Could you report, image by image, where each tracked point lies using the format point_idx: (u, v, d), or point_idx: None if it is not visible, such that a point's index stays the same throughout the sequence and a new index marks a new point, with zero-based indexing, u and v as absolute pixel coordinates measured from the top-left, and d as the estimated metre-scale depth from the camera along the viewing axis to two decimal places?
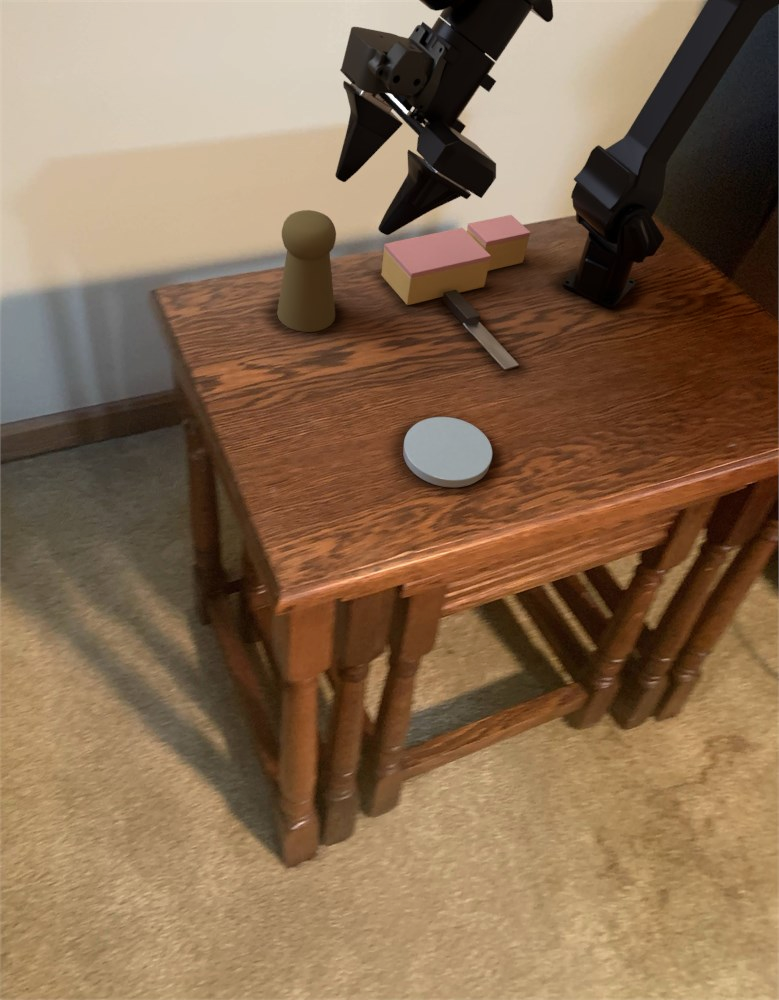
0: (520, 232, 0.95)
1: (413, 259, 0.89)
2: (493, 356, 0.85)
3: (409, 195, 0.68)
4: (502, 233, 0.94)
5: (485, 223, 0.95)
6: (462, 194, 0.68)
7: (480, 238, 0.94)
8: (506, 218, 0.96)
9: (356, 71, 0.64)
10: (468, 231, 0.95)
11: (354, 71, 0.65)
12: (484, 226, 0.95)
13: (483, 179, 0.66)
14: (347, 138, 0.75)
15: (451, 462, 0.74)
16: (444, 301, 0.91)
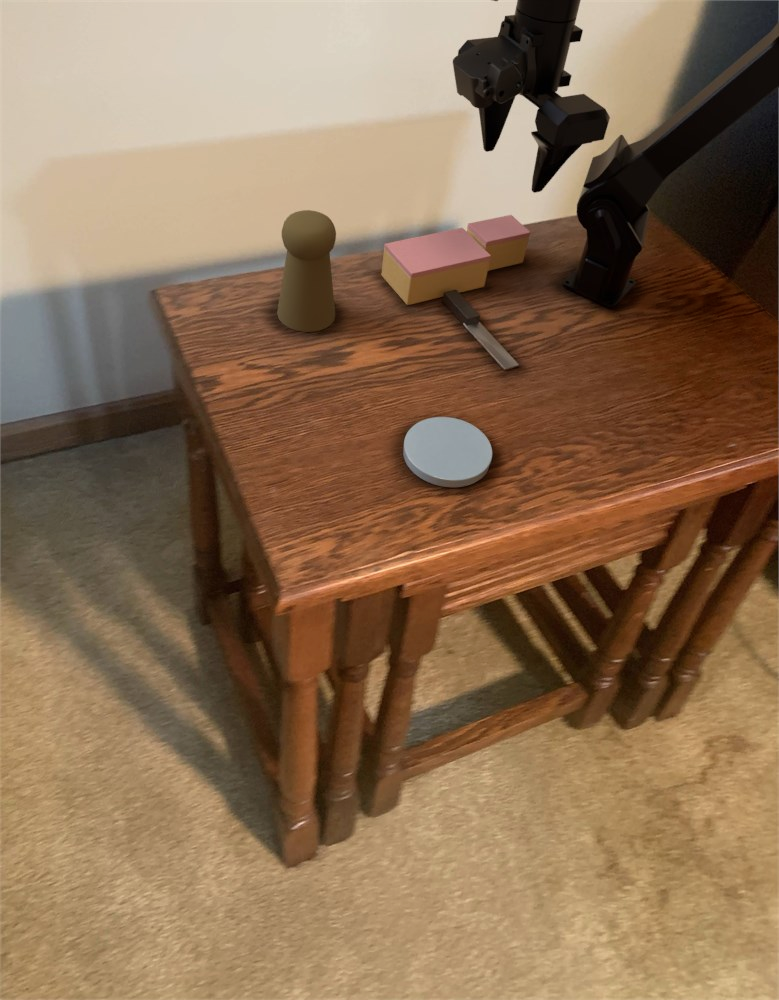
0: (520, 232, 0.95)
1: (413, 259, 0.89)
2: (493, 356, 0.85)
3: (545, 161, 0.83)
4: (502, 233, 0.94)
5: (485, 223, 0.95)
6: (587, 141, 0.81)
7: (480, 238, 0.94)
8: (506, 218, 0.96)
9: (469, 95, 0.80)
10: (468, 231, 0.95)
11: (467, 95, 0.80)
12: (484, 226, 0.95)
13: (599, 127, 0.79)
14: (482, 119, 0.90)
15: (451, 462, 0.74)
16: (444, 301, 0.91)
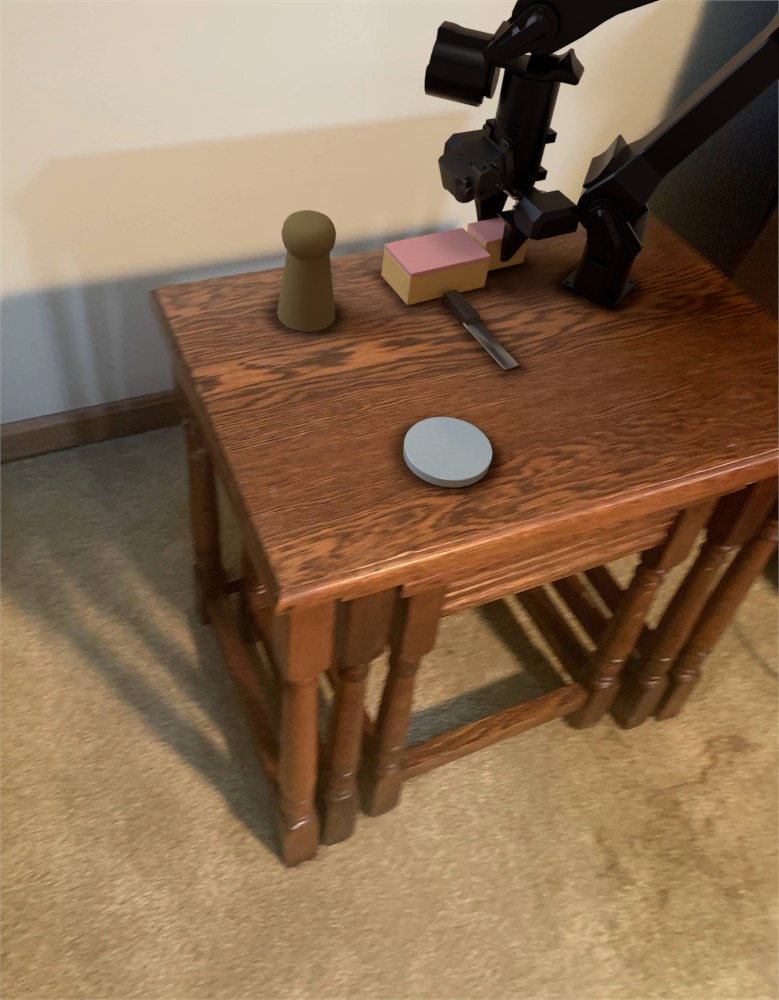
0: None
1: (413, 259, 0.89)
2: (493, 356, 0.85)
3: (511, 236, 0.92)
4: (502, 233, 0.94)
5: (485, 223, 0.95)
6: None
7: (480, 238, 0.94)
8: None
9: (453, 191, 0.87)
10: (468, 231, 0.95)
11: (451, 191, 0.87)
12: (484, 226, 0.95)
13: (571, 222, 0.86)
14: (478, 214, 0.96)
15: (451, 462, 0.74)
16: (444, 301, 0.91)
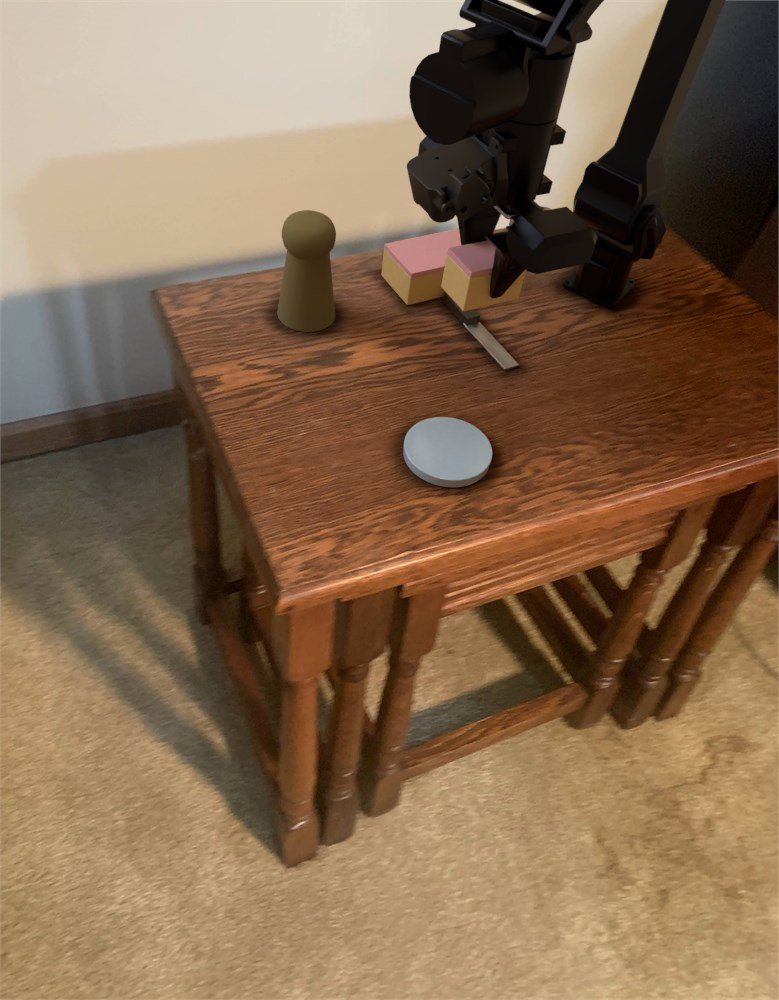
0: None
1: (413, 259, 0.89)
2: (493, 356, 0.85)
3: (504, 266, 0.70)
4: (492, 261, 0.72)
5: (470, 248, 0.74)
6: None
7: (463, 267, 0.72)
8: None
9: (426, 207, 0.65)
10: (448, 258, 0.74)
11: (424, 206, 0.66)
12: (469, 252, 0.73)
13: (584, 250, 0.64)
14: (462, 236, 0.74)
15: (451, 462, 0.74)
16: (444, 301, 0.91)
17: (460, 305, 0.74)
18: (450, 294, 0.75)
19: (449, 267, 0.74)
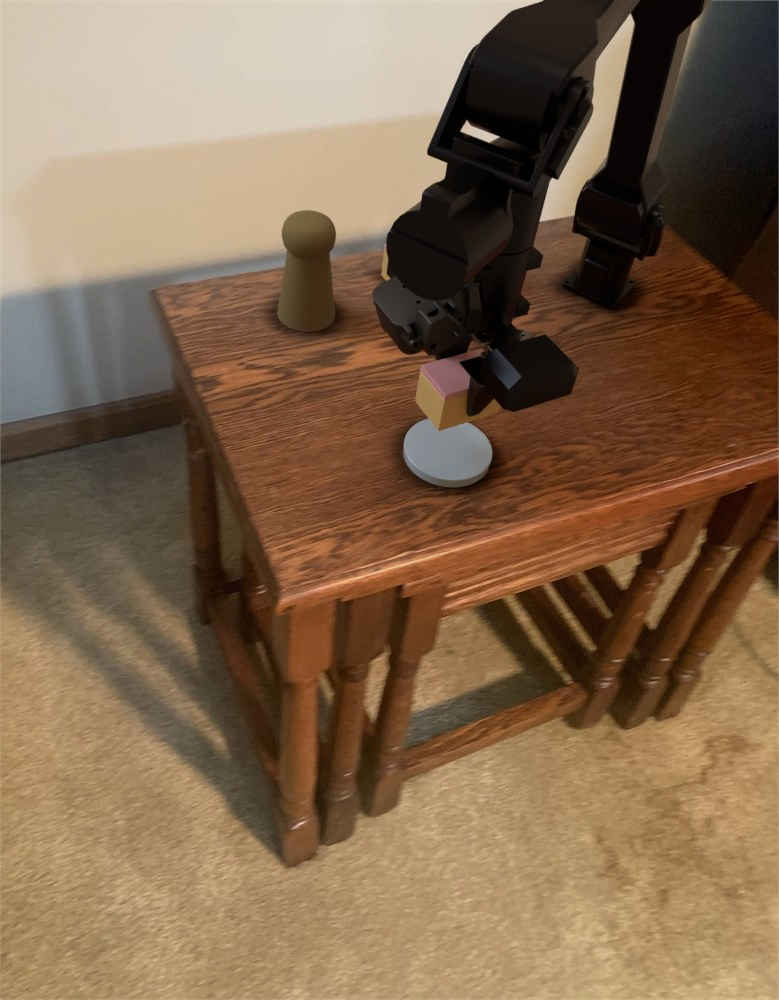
0: None
1: None
2: None
3: (480, 390, 0.65)
4: (468, 380, 0.68)
5: (445, 364, 0.69)
6: None
7: (437, 388, 0.67)
8: (475, 354, 0.70)
9: (394, 338, 0.61)
10: (421, 375, 0.69)
11: (392, 336, 0.61)
12: (444, 369, 0.68)
13: (564, 383, 0.60)
14: None
15: (451, 462, 0.74)
16: None
17: (435, 424, 0.69)
18: (424, 411, 0.70)
19: (423, 384, 0.69)
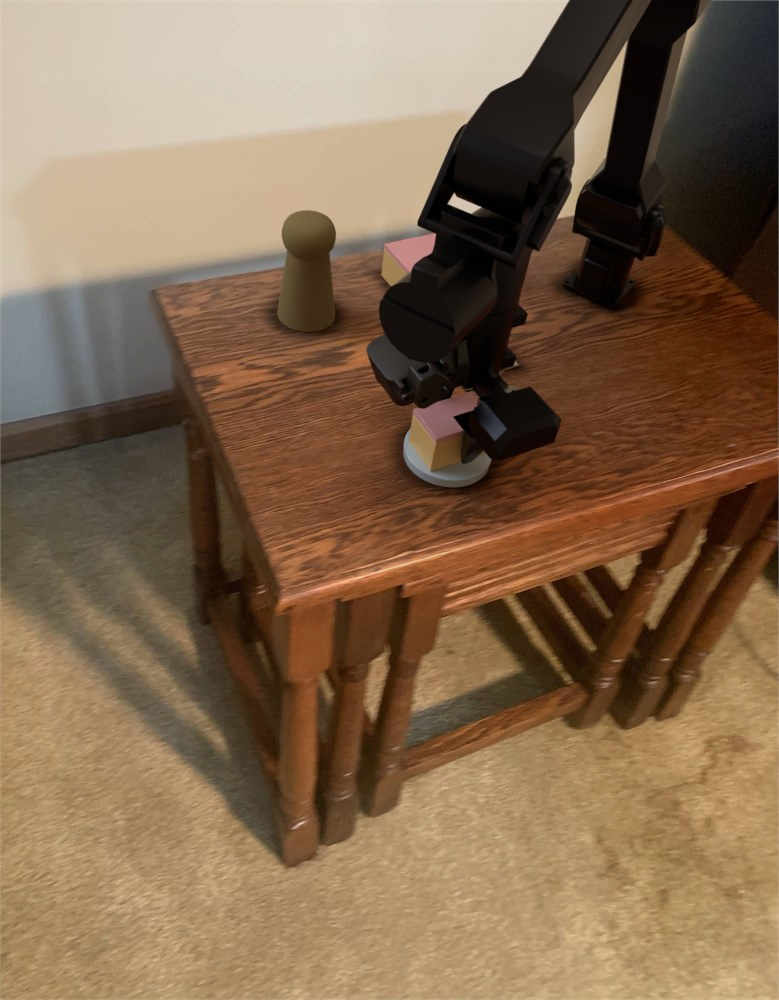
0: None
1: (413, 259, 0.89)
2: None
3: (473, 442, 0.69)
4: None
5: (436, 407, 0.72)
6: None
7: (429, 432, 0.71)
8: (465, 398, 0.73)
9: (387, 390, 0.64)
10: (414, 418, 0.72)
11: (385, 389, 0.64)
12: (435, 413, 0.72)
13: (547, 434, 0.63)
14: None
15: None
16: None
17: (427, 465, 0.73)
18: (417, 451, 0.74)
19: (415, 426, 0.73)
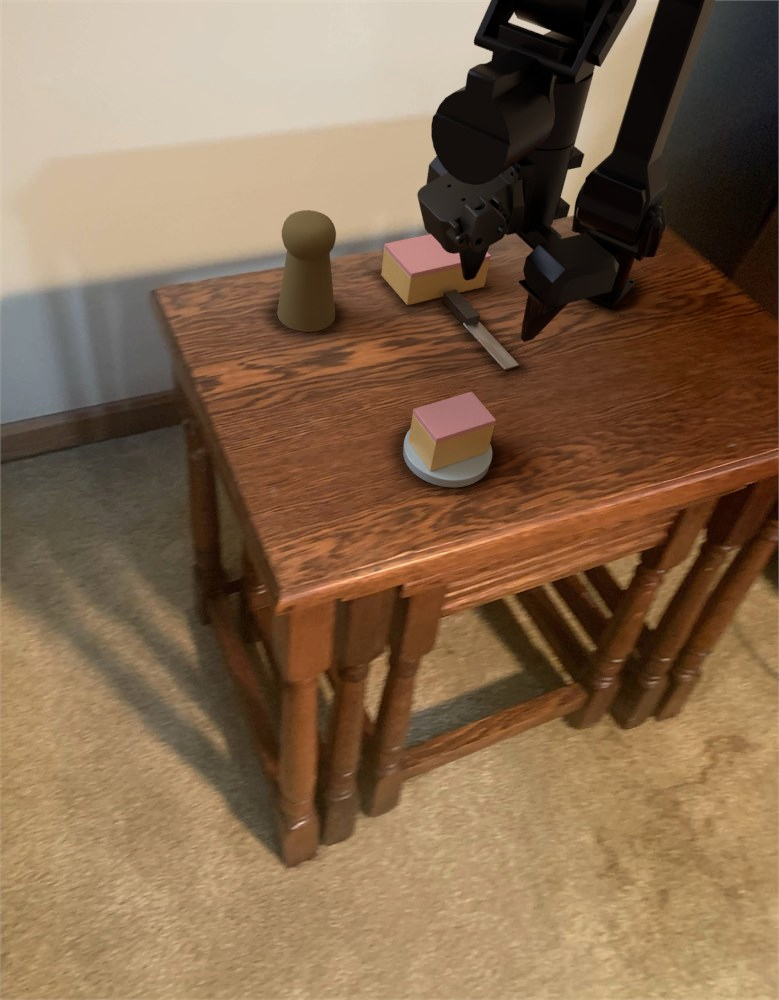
0: (482, 421, 0.72)
1: (413, 259, 0.89)
2: (493, 356, 0.85)
3: (538, 311, 0.66)
4: (458, 423, 0.71)
5: (436, 407, 0.72)
6: None
7: (429, 432, 0.71)
8: (465, 398, 0.73)
9: (439, 237, 0.62)
10: (414, 418, 0.72)
11: (437, 236, 0.63)
12: (435, 413, 0.72)
13: (605, 279, 0.61)
14: None
15: None
16: (444, 301, 0.91)
17: (427, 465, 0.73)
18: (417, 451, 0.74)
19: (415, 426, 0.73)
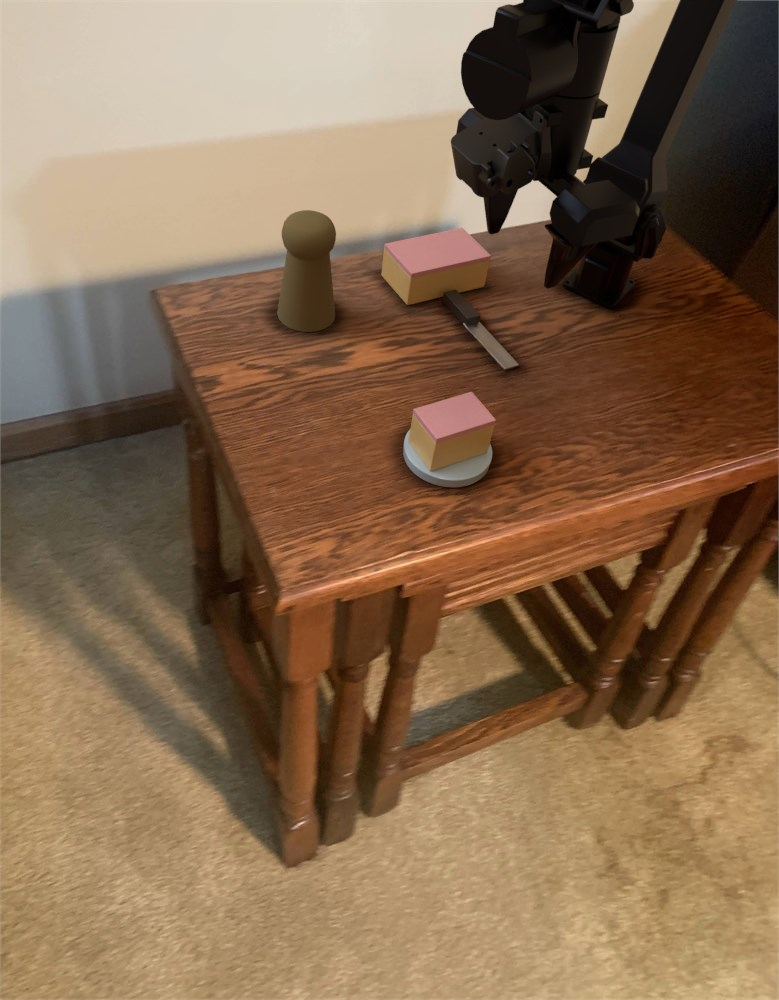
0: (482, 421, 0.72)
1: (413, 259, 0.89)
2: (493, 356, 0.85)
3: (561, 256, 0.70)
4: (458, 423, 0.71)
5: (436, 407, 0.72)
6: None
7: (429, 432, 0.71)
8: (465, 398, 0.73)
9: (470, 182, 0.66)
10: (414, 418, 0.72)
11: (468, 181, 0.66)
12: (435, 413, 0.72)
13: (627, 222, 0.65)
14: (485, 198, 0.76)
15: None
16: (444, 301, 0.91)
17: (427, 465, 0.73)
18: (417, 451, 0.74)
19: (415, 426, 0.73)
